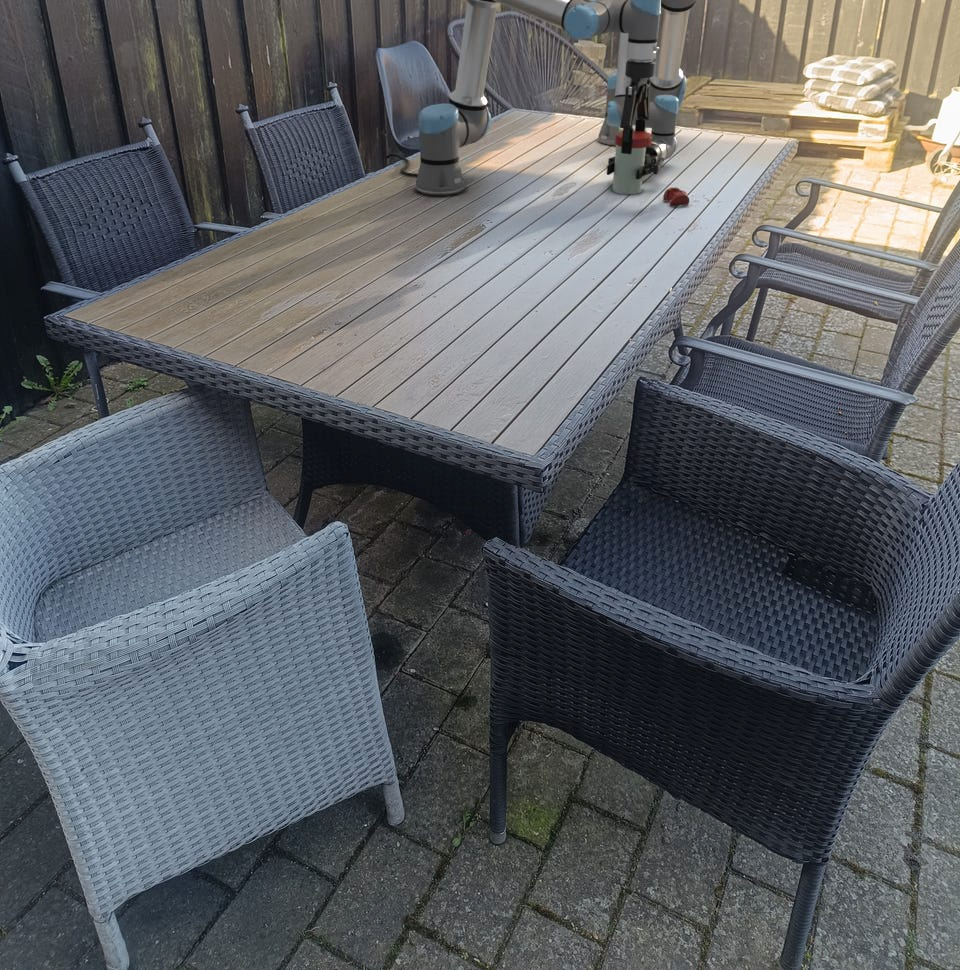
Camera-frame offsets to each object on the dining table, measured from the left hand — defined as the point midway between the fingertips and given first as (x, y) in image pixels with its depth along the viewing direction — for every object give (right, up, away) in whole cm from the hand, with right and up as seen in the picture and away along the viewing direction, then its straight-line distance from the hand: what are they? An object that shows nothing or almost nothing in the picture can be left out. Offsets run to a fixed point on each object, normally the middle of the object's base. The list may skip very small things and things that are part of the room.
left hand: (632, 149), depth 233 cm
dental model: (+15, -10, +14) cm, 23 cm away
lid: (0, +3, -2) cm, 3 cm away
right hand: (0, 0, +18) cm, 18 cm away
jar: (+3, -3, +25) cm, 25 cm away
